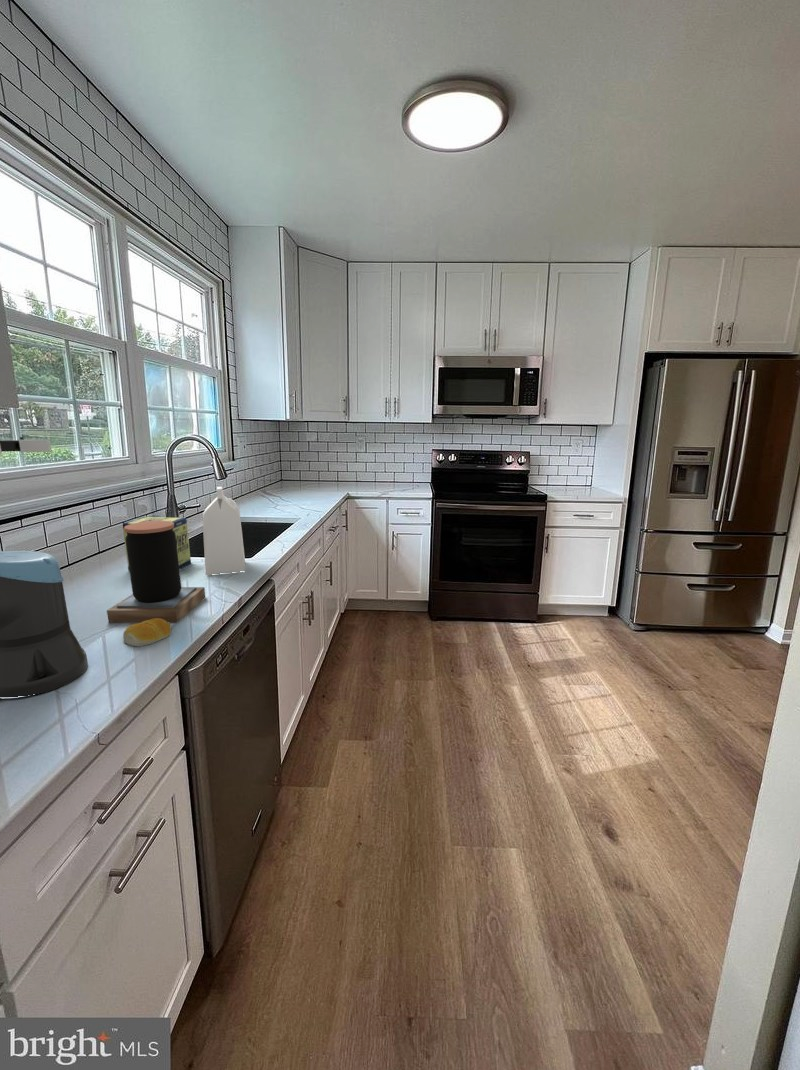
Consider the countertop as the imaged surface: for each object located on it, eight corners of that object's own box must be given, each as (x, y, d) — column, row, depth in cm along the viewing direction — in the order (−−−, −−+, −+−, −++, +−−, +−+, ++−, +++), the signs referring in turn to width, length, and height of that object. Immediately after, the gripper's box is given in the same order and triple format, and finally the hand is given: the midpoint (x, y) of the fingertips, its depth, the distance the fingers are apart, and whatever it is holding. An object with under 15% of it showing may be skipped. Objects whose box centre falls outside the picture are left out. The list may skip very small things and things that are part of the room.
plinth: (177, 622, 108) (175, 608, 107) (108, 622, 108) (106, 608, 107) (205, 597, 124) (204, 585, 123) (145, 597, 124) (143, 585, 123)
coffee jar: (190, 589, 120) (183, 521, 116) (165, 605, 109) (156, 530, 105) (151, 587, 121) (142, 520, 117) (123, 603, 111) (113, 529, 106)
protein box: (175, 572, 145) (169, 523, 141) (127, 571, 146) (120, 523, 142) (192, 563, 155) (187, 517, 151) (147, 562, 156) (141, 516, 153)
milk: (208, 565, 153) (200, 486, 147) (245, 562, 156) (239, 484, 150) (205, 576, 142) (197, 491, 136) (245, 572, 145) (238, 489, 139)
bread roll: (179, 633, 103) (177, 616, 102) (141, 650, 95) (138, 632, 94) (155, 626, 107) (153, 610, 106) (116, 642, 99) (113, 624, 98)
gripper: (-18, 460, 113) (69, 460, 113) (-133, 469, 89) (-22, 470, 89) (-25, 428, 111) (64, 429, 111) (-143, 429, 87) (-30, 430, 87)
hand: (26, 447), depth 100 cm, fingers open, 13 cm apart
